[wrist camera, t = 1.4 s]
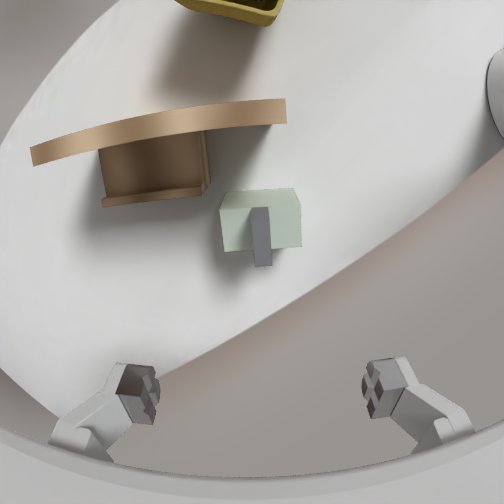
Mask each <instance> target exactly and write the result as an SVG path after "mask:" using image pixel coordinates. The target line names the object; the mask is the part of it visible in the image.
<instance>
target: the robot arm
mask: <svg viewBox="0 0 504 504" xmlns="http://www.w3.org/2000/svg"><path fill="white" fill-rule="evenodd" d="M487 90H488V99H489V104H490V109H491V112H492V116H493V119H494V121H495V124H496V126H497V128H498V130H499V132H500V134H501V135H502V137H503V138H504V48H503V49H502V50H500V51H499V52H497V53H496V54H495V56H494V57H493V59H492V61H491V63H490V66H489V70H488V78H487ZM366 369H367V373H366V374H365V375H364V376H363V379H362V393H363V396H364V398H365V399H366V400H368V401H369V402H368V405H367V408H368V412H369V415H370V418H371V419H376V418H382V417H388V416H390V417H391V418H392V419H393V420H394V421H395V422H396V423H397V424H398V425H400V426H401V427H402V428H403V429H404V430H405V431H406V432H407V433H408V434H409V435H410V436H412V437H413V438H414V439H415V440H416V441H417V442H418V444H417V445H416V447H415V448H414V450H413V451H412V452H411V455H408V456H405V457H401V458H397V459H393V460H389V461H385V462H381V463H377V464H372V465H367V466H362V467H357V468H351V469H345V470H338V471H332V472H324V473H316V474H307V475H297V476H296V475H295V476H280V477H211V476H197V475H186V474H185V475H184V474H176V473H168V472H161V471H153V470H147V469H141V468H136V467H131V466H125V465H120V464H116V463H114V461H113V459H112V458H111V457H110V456H109V454H108V453H107V452H106V450H107V449H108V448H109V447H110V446H111V445H112V444H113V443H114V442H115V441H116V440H117V439H118V438H119V437H120V436H121V435H122V434H123V433H124V432H125V431H126V430H127V429H128V428H129V427H130V426H131V425H132V424H133V423H140V424H149V425H153V422H154V419H155V415H156V410H155V407H154V406H155V405H156V404H157V403H159V399H160V385H159V382H158V380H157V379H156V378H155V373H156V372H155V370H154V367H152V366H144V365H135V364H126V363H118V362H117V363H116V364H115V365H114V366H113V369H112V371H111V373H110V375H109V378H108V380H107V382H106V384H105V387H104V389H103V391H102V392H98V393H97V394H95V395H94V396H92V397H91V398H89V399H88V400H87V401H85V402H84V403H82V404H81V405H79V406H78V407H77V408H75V409H74V410H72V411H71V412H69V413H68V414H66V415H65V416H64V417H62V418H61V419H59V420H58V422H57V424H56V426H55V429H54V431H53V433H52V435H51V437H50V440H49V442H48V444H46V443H43V442H41V441H38V440H35V439H33V438H31V437H28V436H26V435H23V434H20V433H18V432H16V431H14V430H12V429H9V428H7V427H5V426H3V425H1V424H0V504H504V419H503V420H501V421H499V422H497V423H495V424H492V425H491V426H488V427H486V428H484V429H481V430H479V431H477V432H475V430H474V428H473V426H472V424H471V422H470V420H469V418H468V416H467V414H466V413H465V411H464V409H462V408H460V407H459V406H457V405H456V404H454V403H452V402H451V401H449V400H448V399H446V398H444V397H443V396H441V395H440V394H438V393H437V392H435V391H433V390H432V389H430V388H429V387H427V386H426V385H424V384H420V383H419V381H418V380H417V378H416V376H415V374H414V372H413V370H412V368H411V366H410V364H409V362H408V361H407V359H406V357H404V356H401V357H394V358H388V359H381V360H374V361H369V362H368V364H367V367H366Z"/></svg>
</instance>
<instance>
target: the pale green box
mask: <svg viewBox="0 0 504 504" xmlns="http://www.w3.org/2000/svg"><path fill="white" fill-rule="evenodd" d="M219 211H220V220H221V228H222V236H223V243H224V251H225V252H229V251H244V250H254V260H255V267H260V266H272V251H271V249H276V248H292V247H302V236H301V204H300V202H299V199H298V197H297V195H296V193H295V191H294V188H279V189H263V190H249V191H236V192H226V194H225V196H224V199H223V202H222V204H221V207H220V210H219Z"/></svg>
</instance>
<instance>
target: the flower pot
mask: <svg viewBox="0 0 504 504" xmlns="http://www.w3.org/2000/svg"><path fill="white" fill-rule="evenodd" d="M175 1H176V2H178V3H179V4H181V5H183V6H184V7H186V8H188V9H191V10H194V11H199V12H205V13H210V14H215V15H220V16H225V17H229V18H233V19H238V20H241V21H245V22H249V23H252V24H256V25H259V26H264V27H266V26H269V25H271V24H272V23H273V21H274V20H275V18H276V17H277V15H278V14H279V12H280V10H281V7H282V4H283V2H284V0H261V2H257V1H256V0H175Z"/></svg>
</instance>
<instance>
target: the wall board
mask: <svg viewBox="0 0 504 504" xmlns="http://www.w3.org/2000/svg"><path fill="white" fill-rule="evenodd" d="M286 123H287V119H286V105H285V99H266V100H251V101H239V102H228V103H219V104H210V105H203V106H195V107H188V108H182V109H176V110H170V111H164V112H158V113H153V114H148V115H143V116H138V117H134V118H129V119H125V120H120V121H116V122H112V123H108V124H104V125H100V126H96V127H93V128H89V129H85V130H82V131H78V132H75V133H72V134H68V135H65V136H62V137H59V138H56V139H53V140H50V141H47V142H44V143H41V144H38V145H35V146H33V147H30V150H31V156H32V162H33V167H34V166H37V165H40V164H44V163H47V162H50V161H54V160H57V159H61V158H64V157H68V156H72V155H76V154H79V153H83V152H87V151H91V150H96V149H98V151H99V157H100V163H101V169H102V174H103V179H104V185H105V190H106V195H107V196H106V197H105V198H103V199H102V204H103V207H109V206H116V205H123V204H131V203H139V202H147V201H155V200H163V199H172V198H182V197H191V196H202V194H203V193H204V191H205V190H206V188H207V187H208V185H209V184H210V175H209V166H208V157H207V148H206V139H205V130H210V129H219V128H229V127H239V126H252V125H267V124H286Z"/></svg>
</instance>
